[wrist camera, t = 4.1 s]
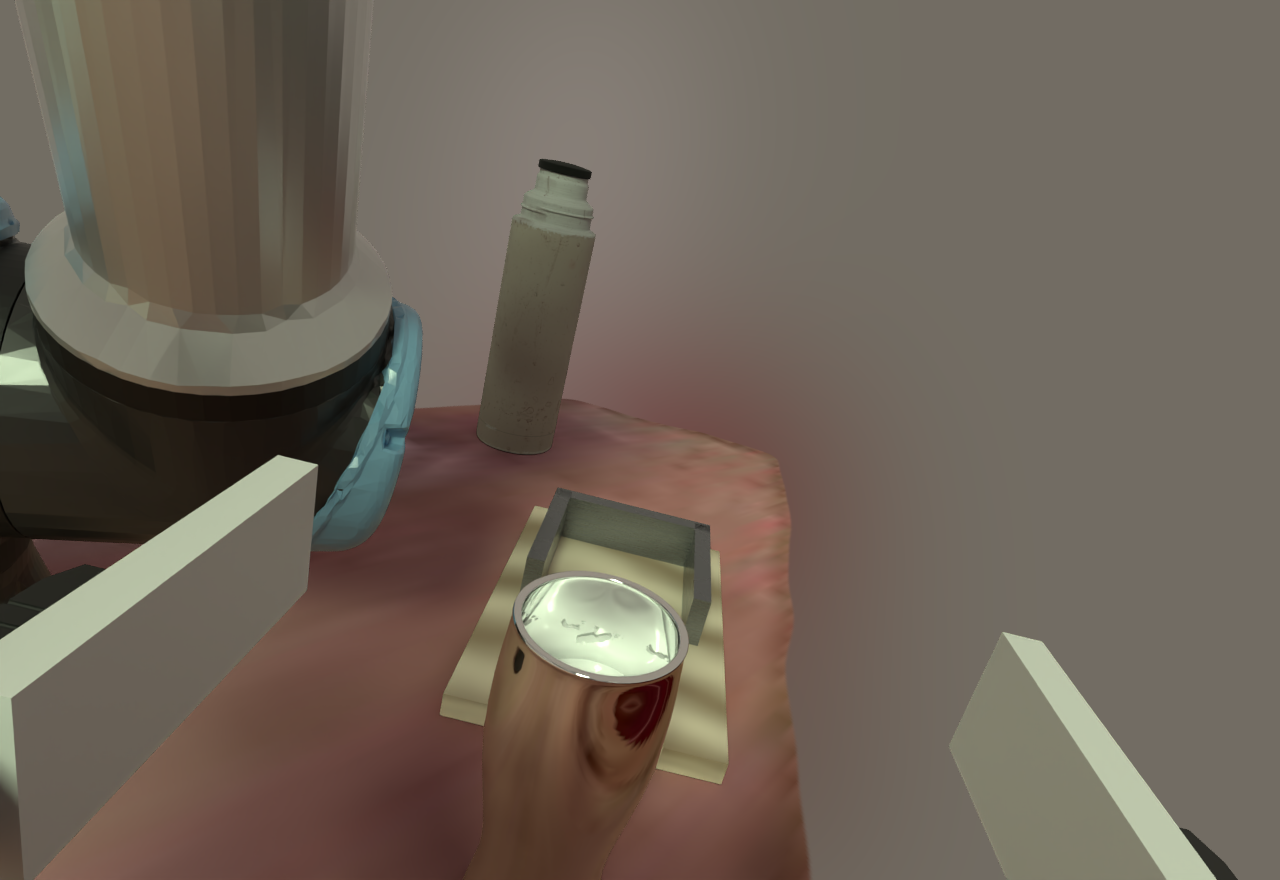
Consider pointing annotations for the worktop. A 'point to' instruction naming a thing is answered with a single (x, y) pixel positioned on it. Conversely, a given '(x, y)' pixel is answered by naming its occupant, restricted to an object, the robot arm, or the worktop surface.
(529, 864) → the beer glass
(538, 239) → the thermos bottle
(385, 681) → the worktop surface
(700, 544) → the bracket
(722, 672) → the board
